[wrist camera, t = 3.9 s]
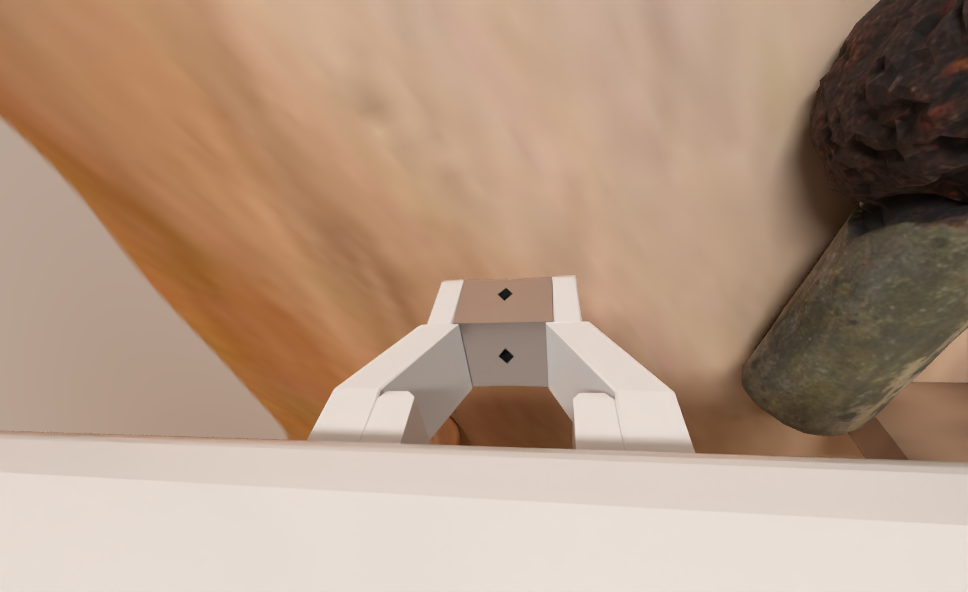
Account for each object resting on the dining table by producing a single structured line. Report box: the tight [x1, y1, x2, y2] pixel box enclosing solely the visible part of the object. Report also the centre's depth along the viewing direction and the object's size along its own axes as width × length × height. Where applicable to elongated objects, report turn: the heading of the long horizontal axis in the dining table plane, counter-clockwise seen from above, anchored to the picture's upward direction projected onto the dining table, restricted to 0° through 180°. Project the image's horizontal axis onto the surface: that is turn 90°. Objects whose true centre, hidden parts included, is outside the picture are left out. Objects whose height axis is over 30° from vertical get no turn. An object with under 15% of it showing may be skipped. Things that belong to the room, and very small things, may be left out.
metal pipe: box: [742, 0, 968, 436], centre depth 11 cm, size 18×7×6 cm, turn 0°
